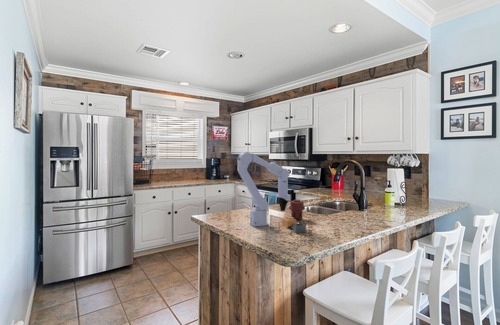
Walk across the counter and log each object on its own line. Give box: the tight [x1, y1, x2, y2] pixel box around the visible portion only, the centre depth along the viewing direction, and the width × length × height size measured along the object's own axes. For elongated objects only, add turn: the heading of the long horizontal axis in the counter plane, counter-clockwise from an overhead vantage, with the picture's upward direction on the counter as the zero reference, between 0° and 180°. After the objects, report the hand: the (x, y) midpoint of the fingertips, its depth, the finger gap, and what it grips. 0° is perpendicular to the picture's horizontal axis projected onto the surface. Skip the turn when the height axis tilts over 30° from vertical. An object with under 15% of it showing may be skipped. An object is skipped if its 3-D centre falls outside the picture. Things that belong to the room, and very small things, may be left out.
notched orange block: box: [281, 217, 297, 229], centre depth 155 cm, size 6×6×4 cm
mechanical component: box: [288, 199, 306, 221], centre depth 173 cm, size 12×10×10 cm
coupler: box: [289, 221, 307, 234], centre depth 147 cm, size 6×10×5 cm, turn 19°
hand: (282, 210), depth 163 cm, fingers closed
